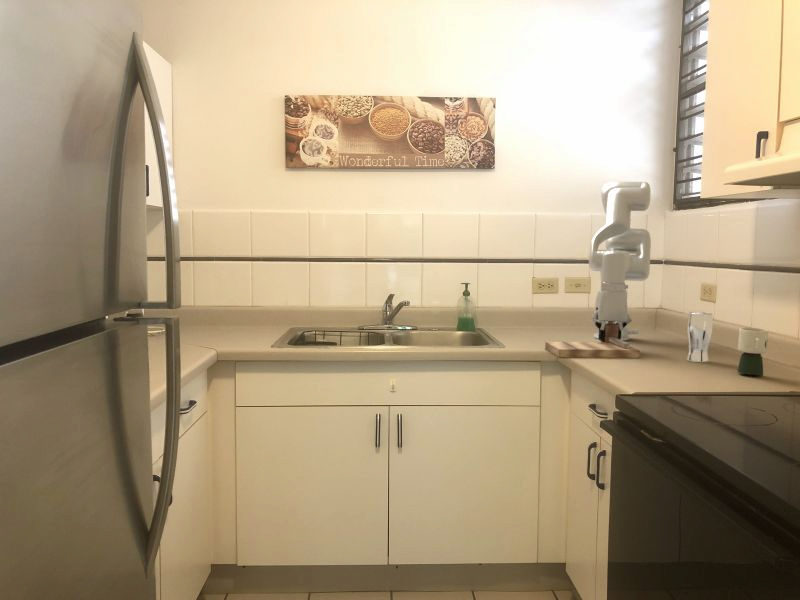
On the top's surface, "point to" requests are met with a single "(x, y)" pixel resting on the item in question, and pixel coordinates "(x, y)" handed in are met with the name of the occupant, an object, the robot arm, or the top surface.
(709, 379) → the top surface
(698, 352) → the beer glass
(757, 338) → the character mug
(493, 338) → the top surface
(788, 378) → the top surface
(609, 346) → the oak board
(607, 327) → the marking gauge
